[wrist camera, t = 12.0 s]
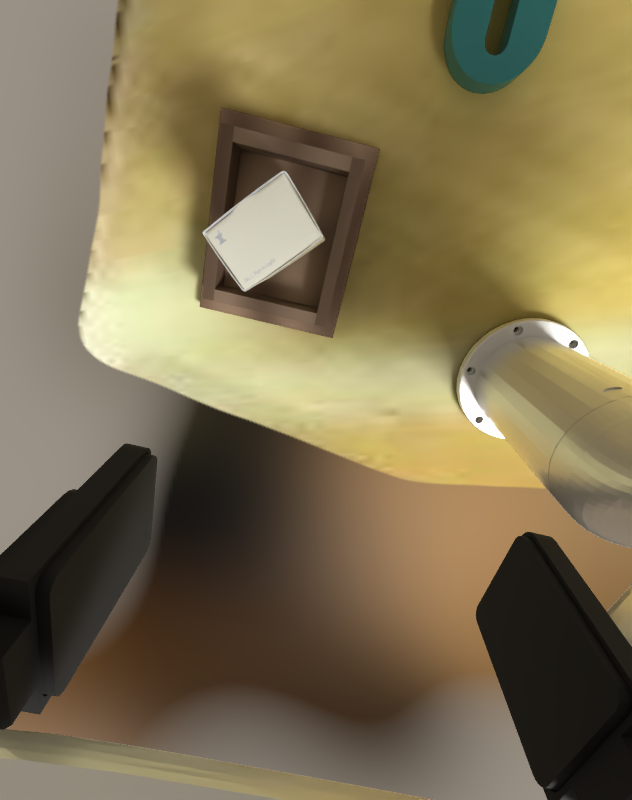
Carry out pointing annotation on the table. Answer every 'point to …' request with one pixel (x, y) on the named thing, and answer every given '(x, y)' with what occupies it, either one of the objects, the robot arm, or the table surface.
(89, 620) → the robot arm
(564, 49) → the table surface
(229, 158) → the holder
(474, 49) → the bracket
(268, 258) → the skincare box
